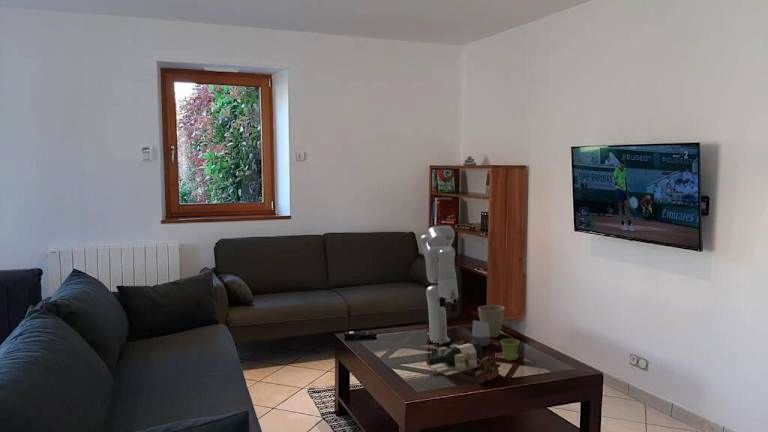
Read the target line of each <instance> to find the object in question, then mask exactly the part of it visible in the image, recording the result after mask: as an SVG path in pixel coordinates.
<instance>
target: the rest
mask: <svg viewBox="0 0 768 432" xmlns="http://www.w3.org/2000/svg"><path fill="white" fill-rule="evenodd" d="M455 346H460V345H459V344H458V343H456V344H455V343H454V344H451V345H449V347H447V346H441V347H438V348H437V351H438V352H437V353H438V355H437V356H441V355H443V354H444V353H445V352H446V350H447V349H448V348H451V347H455ZM477 360H478V359H477V354H476V352H475V351H470V352H467V362H465V355H464V354H457V355H455V365H450V364H448V363H445V362H443V363H440V364H436V365H432V366H429V365H427V364H426V367H427V366H428V367H427V368H430V369H432V370H433V371H436V372H438V373H440V374H442V375H444V376H446V375H447V376H450V375H454V374H457V373H462V372H465V371H469V370H472V369H477V368H480V367H479V363H478V361H477Z"/></svg>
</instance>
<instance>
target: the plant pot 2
mask: <svg viewBox="0 0 768 432" xmlns="http://www.w3.org/2000/svg"><path fill="white" fill-rule="evenodd" d="M499 342H500V345H501V348H502V354H503V359H505V361H513V360H514V361H515V360H517V357H518V350H519V345H520V340H518V339H514V338H503V339H501V340H499Z"/></svg>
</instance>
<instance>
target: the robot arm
mask: <svg viewBox="0 0 768 432" xmlns="http://www.w3.org/2000/svg"><path fill="white" fill-rule="evenodd" d="M454 239H455V230H454V228H453V227H452V226H451V225H433V226H431V227H429V229H428V230H427V231H426V234H423V235H421V236H420V237H419V246H420V250H421V253H422V255H423V256H424V260H425V270H426V278H427V281H428V282H429V283H432V284H433V285H432V284H431V285H430V286H428V287H427V288H426V289H425V295H426V301H427V309H428V324H429V325H428V327H429V330H428V331H429V332H427V333H426V334H427V336H428V338H430V340H431V341H433V343H439V345H444V344H443V343H446V344H448V343H450V342H449V341H451V339H450V337H448V334H447V333H448V332H447V330H448V329H447V327H448V326H447V311H446V305H447V303H449V302H450V312H457V311H458V301H459V299H460V295H459V291H458V290H459V289H458V280H457V274H456V269H455V267H456V266H455V257H456V249H454V247H453V246H452V245H453V242H454ZM447 342H448V343H447Z"/></svg>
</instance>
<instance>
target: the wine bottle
mask: <svg viewBox="0 0 768 432" xmlns="http://www.w3.org/2000/svg"><path fill="white" fill-rule="evenodd" d="M447 348H448V349H447V350H446V352H445V353H444V354H443V355H441V356H438V355H437V356H434V357H433V356H432V357H430V358H429V357H428V359H427V360H426V366H427V365H429V366H432V365H436V364H440V363H443V362H445V363H448V364H450V365H455V355H457V354H464V355H465V362H467V352H470V351H475V352H476V354H477V360H478V359H479V360H480V359H481V358H482V356H483V350H484V349H483V347H481V345H480V343H478V342H473V341H471V342H469V343H465V344H460V345H459V346H455V347H451V348H450V347H447Z"/></svg>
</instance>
